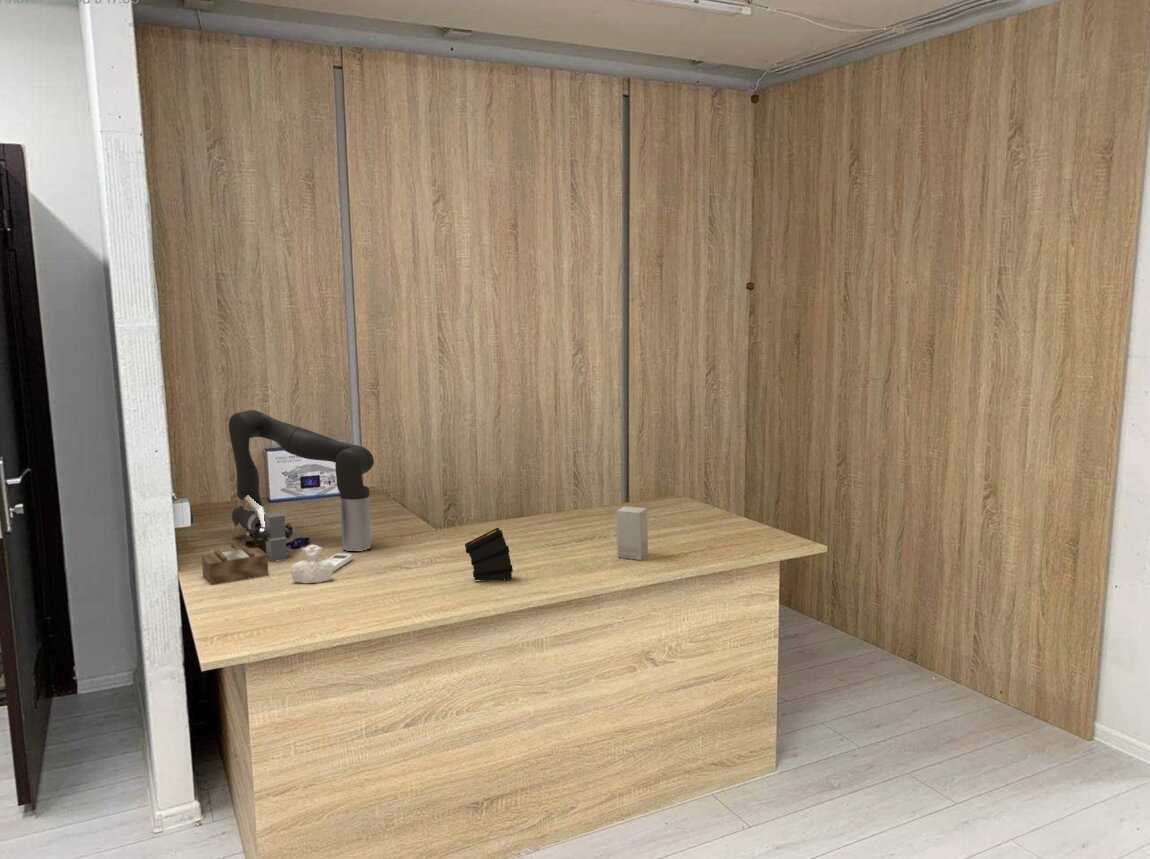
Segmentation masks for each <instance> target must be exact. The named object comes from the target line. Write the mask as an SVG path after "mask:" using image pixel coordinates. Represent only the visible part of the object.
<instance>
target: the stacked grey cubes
mask: <svg viewBox="0 0 1150 859" xmlns="http://www.w3.org/2000/svg"><path fill="white" fill-rule="evenodd" d="M285 518H286V517H285V515H284V514H283V513H281V512H280V511H276V512H268V513H265V514H264V521H265V533H266V534H267V535H268V541H267V542H265V553H266V554H267V558H268V560H269V559H270V560H271V561H275V562H277V561H276V560H281V561H283V560H282V559H287V538H286V537H285V525H286V522H285V521H286V520H285ZM270 560H269V561H270ZM271 561H270V562H271Z"/></svg>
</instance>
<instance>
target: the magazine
mask: <svg viewBox="0 0 1150 859" xmlns="http://www.w3.org/2000/svg"><path fill="white" fill-rule="evenodd" d="M464 548H465V552H466V554H468V555H469V557H470V559H471V560H470V563H471V566H473V567H472V568H473V571H472V577H473V579H474V580H501V581H509V580H508V579H513V577H512V576H513V574H512V573H513V572H514V570H513V569H514V568H513V564H512V562H511V557H510V547H509V545H507V542H506V540H505V538H504V534H503V531H502V529H500V528H499V527H496V528H494V529H491V530H490V531H488V532H486V533H484V534H482V535H480V536H478V537H475V539H472V540H470V541H468V542H466V543H464ZM504 579H505V580H504Z"/></svg>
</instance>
